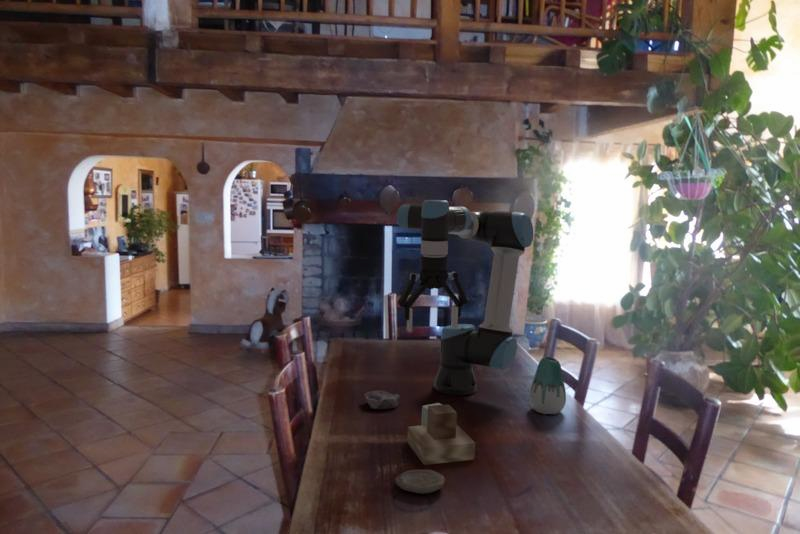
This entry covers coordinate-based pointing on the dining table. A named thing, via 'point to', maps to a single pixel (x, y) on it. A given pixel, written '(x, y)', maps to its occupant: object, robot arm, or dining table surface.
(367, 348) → the dining table surface
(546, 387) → the vase
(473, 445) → the plinth
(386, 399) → the rock
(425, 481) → the fossil
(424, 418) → the grey green cube
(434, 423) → the walnut block
